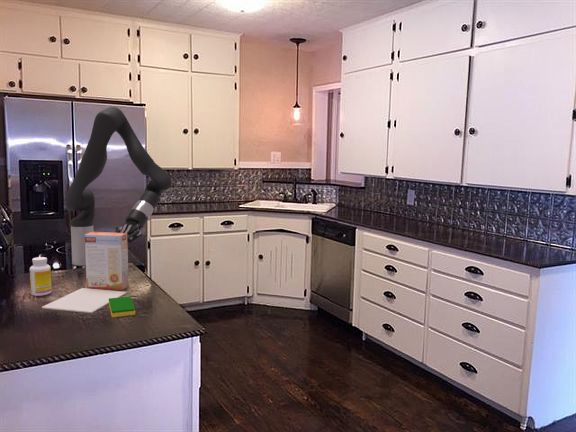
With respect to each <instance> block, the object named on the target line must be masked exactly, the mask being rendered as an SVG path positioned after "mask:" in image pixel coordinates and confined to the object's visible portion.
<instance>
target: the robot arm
mask: <svg viewBox="0 0 576 432" xmlns="http://www.w3.org/2000/svg"><path fill="white" fill-rule="evenodd" d="M115 132H116V133H117V134H118V135H119V136H120V137H121V139H122V140H123V142H124V144H125V147H126V150H127V153H128V156H129V158H130V159H131V161H132V163H133V164H134V166H135V167H136V168H137V169H138V170H139V172H140V173H141V174H142V175H143V176H148V177H150V178H151V179H150V180H149V182H148V183H147V185H146V187H145V189H144V192H143V193H142V194H141V196H140V198H139V199H138V201H137V202H136V203H135V204H134V205H133V207H131V210H130V211H129V212H128V214H127V216H125V222H124V223H122V226H120V227H119V226H116V227H115V233H127V243H129V244H131V243H132V242H134V241H135V240H137V239H138V238H140V237H142V236H143V233H142V232H141V230H142V229H143V228H144V227H145V225H146V224H147V222H148V221H149V220H150V217H151V216H152V214H153V211H154V210H155V208H156V207H157V206H158V204H159V202H160V197H161V195H162V194H163V192H165V191H168V190H169V189H170V188H171V187H172V184H173V182H172V178H171V176H170V174H169V173H168V172H166V171H165V170H164V169H163V168H162V167H161V166H159V165H158V164H157V163H156V162H155V161H154V159H153V158H152V157H151V155H150V154H149V153H148V151H147V150H146V149H145V147H144V146H143V144H142V143H141V141H140V140H139V138H138V136H137V134H136V133H135V131H134V129H133V128H132V126H131V124H130V122H129V120H128V119H127V116H126V115H125V114H124V112H123V111H122V110H121V109H120V108H118V107H115V106H109V107H107V108H105V109H103V110H101V111H99V112H98V113H97V114H96V115H95V117H94V121H93V125H92V129H91V134H90V138H89V140H88V142H87V145H86V147H85V150H84V152H83V155H82V157H81V160H80V163H79V165H78V166H79V167H78V169H77V170H76V174H75V177H74V179H73V180H72V183H71V184H70V186H69V188H68V190H67V192H66V195H65V200H64V202H65V208H66V209H67V210H69V211H71V212H72V211H73V212H77V211H78V212H79V211H81V212H80V213H79V214H78V215H77V216H75V217H73V218H72V219H71V220H70V235H71V237H70V238H71V244H70V245H71V264H72V265H73V266H80V267H81V266H83V267H84V266H86V255H85V234H87V233H90V232H95V231H94V220H95V207H96V206H95V203H96V200H95V194H94V192H93V191H92V190H91V189H90V188H89V189H88V188H87V187H88V186H89V185H90V184H92V183H93V182H94V181H95V180H97V178H99V177H100V176H101V174H102V173H103V171H104V169H105V166H106V165H107V164H106V163H107V160H108V150H107V147H108V144H109V142H110V140H111V138H112V136H113V135H114V133H115Z"/></svg>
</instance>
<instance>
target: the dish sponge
mask: <svg viewBox="0 0 576 432" xmlns="http://www.w3.org/2000/svg"><path fill="white" fill-rule="evenodd" d="M108 307H109V310H110V316H111V318H119V317H129V316H135V315H136V308H135V305H134V303H133V299H132V296H121V297H119V298H109V304H108Z"/></svg>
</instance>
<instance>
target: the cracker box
mask: <svg viewBox="0 0 576 432" xmlns="http://www.w3.org/2000/svg"><path fill="white" fill-rule="evenodd" d="M128 245H129V244H128V242H127V233H116V232H109V231H108V232H105V231H94V232H90V233H87V234H85V255H86V265H85V276H86V288H88V289H99V290H110V291H123V290H125V289H126V288H128V287H129V258H128V257H129V251H128V250H129V249H128V248H129V247H128Z"/></svg>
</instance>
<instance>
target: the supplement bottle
mask: <svg viewBox="0 0 576 432" xmlns="http://www.w3.org/2000/svg"><path fill="white" fill-rule="evenodd" d="M31 262H32V265H31V266H30V267H29V280H30V281H29V282H30V283H29V284H30V285H29V286H30V294H31V296H36V297H42V296H46V295H50V294H51V293H52V292H53V291H52V290H53V287H52V270H51V266H50V265H49V264H48V258H47V257H44V256H39V257H38V256H37V257H33V258H32V260H31Z"/></svg>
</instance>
